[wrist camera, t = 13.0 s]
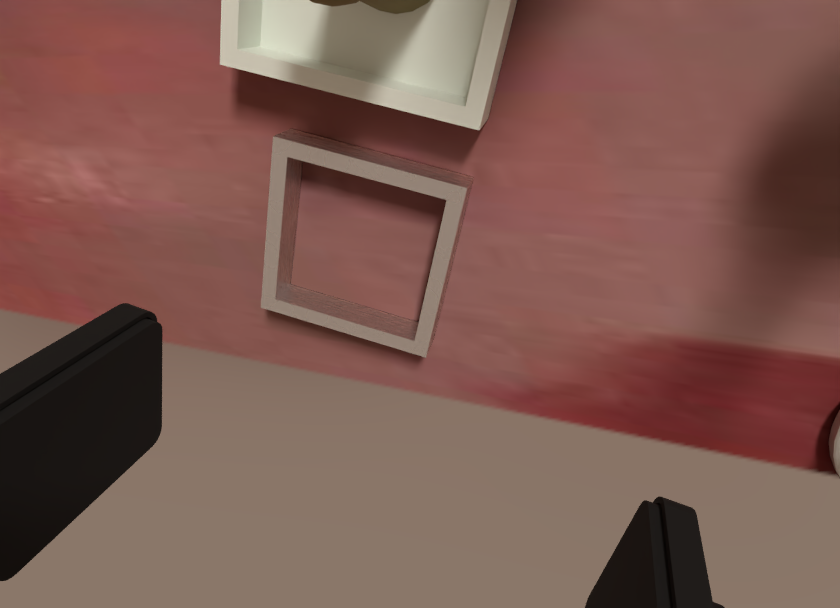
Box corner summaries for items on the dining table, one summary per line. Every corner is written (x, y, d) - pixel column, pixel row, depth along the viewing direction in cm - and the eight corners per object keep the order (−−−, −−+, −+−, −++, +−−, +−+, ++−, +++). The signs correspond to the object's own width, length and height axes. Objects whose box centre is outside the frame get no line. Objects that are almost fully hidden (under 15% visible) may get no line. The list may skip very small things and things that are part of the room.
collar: (473, 176, 36) (467, 188, 34) (433, 339, 42) (425, 357, 40) (290, 128, 37) (273, 136, 35) (276, 292, 43) (260, 307, 41)
